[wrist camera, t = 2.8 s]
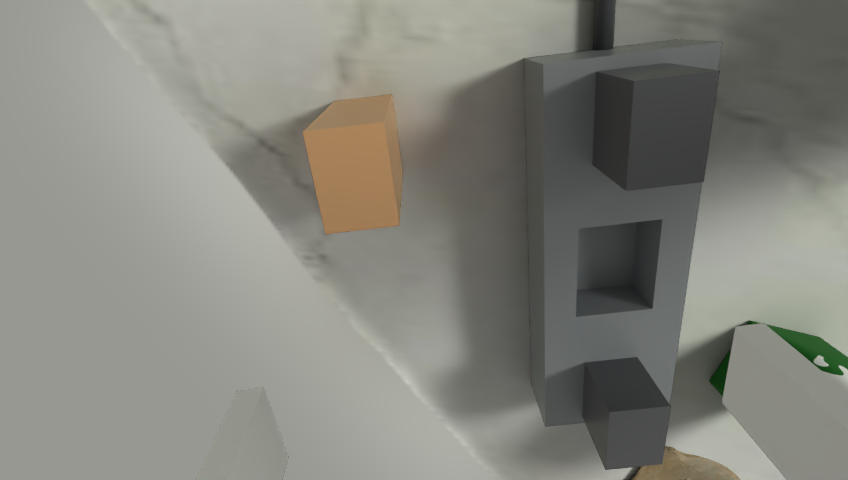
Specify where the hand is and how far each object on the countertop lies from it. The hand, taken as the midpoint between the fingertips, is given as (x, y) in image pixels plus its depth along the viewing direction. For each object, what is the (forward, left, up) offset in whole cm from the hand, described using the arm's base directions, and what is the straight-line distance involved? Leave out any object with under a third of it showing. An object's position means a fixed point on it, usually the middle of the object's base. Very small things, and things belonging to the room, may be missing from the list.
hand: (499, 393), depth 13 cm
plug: (-3, -5, -23) cm, 24 cm away
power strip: (+2, +11, -23) cm, 25 cm away
